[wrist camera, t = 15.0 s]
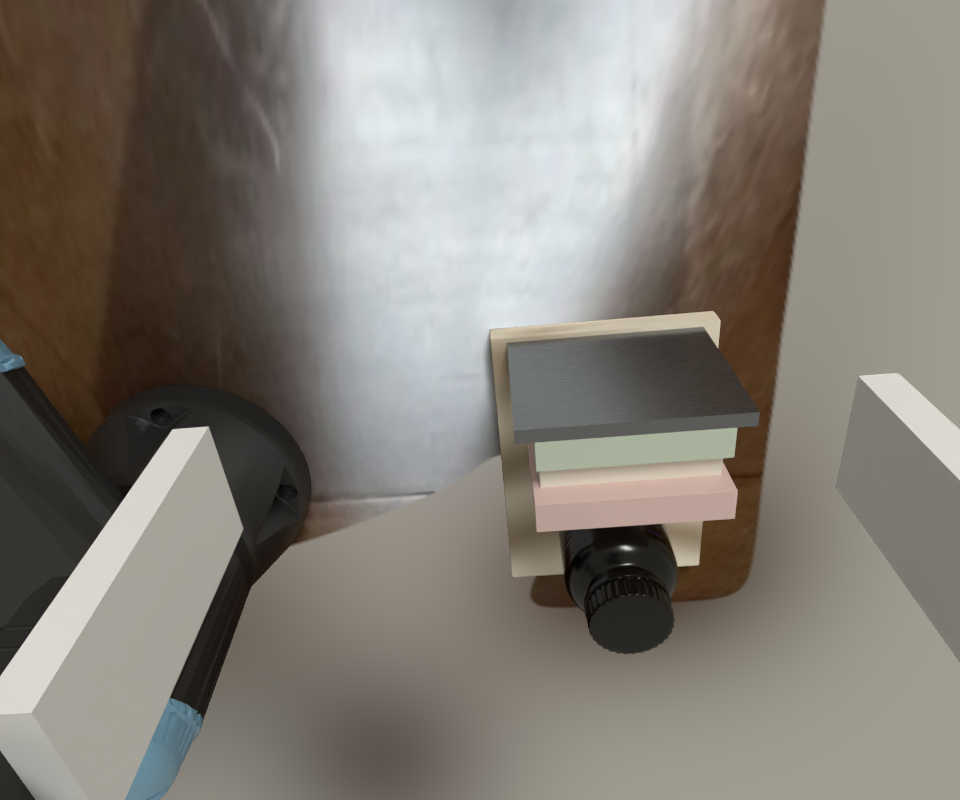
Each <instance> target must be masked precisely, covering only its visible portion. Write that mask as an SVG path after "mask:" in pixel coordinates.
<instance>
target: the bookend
mask: <svg viewBox="0 0 960 800" xmlns="http://www.w3.org/2000/svg"><path fill="white" fill-rule="evenodd" d="M507 348H508V361H509V375H510V388H511V402H512V415H513V428H514V441H515V444H524V443H537V442H551V441H564V440H577V439H591V438H604V437H617V436H631V435H644V434H658V433H671V432H684V431H698V430H711V429H724V428H738V427H751V426H758V422H759V415H760V412H759V410H758V409H757V407H756V406H755V404H754V403H753V401H752V400H751V398H750V396H749V395H748V393H747V392H746V390H745V389H744V387H743V386H742V384H741V383H740V381H739V380H738V378H737V377H736V375H735V374H734V372H733V371H732V369H731V368H730V366H729V365H728V363H727V361H726V360H725V358H724V357H723V355H722V354H721V352H720V351H719V349H718V348H717V346H716V345H715V343H714V342H713V340H712V339H711V337H710V336H709V334H708V333H707V331H706V330H705V328H704V327H693V328H681V329H669V330H657V331H644V332H632V333H620V334H608V335H595V336H583V337H571V338H559V339H546V340H534V341H522V342H510V343H507Z"/></svg>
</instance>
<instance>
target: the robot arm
mask: <svg viewBox="0 0 960 800" xmlns="http://www.w3.org/2000/svg"><path fill="white" fill-rule="evenodd" d="M24 365H26V363H25V362H24V360H23V359H22V357H21V356H20V355H16V354H13V353H12V352H11V351H10V349H9V348H8V347H7V346H6V345H5V344H4V343H3V342H2V340H1V339H0V800H160V799H161V798H162V797H163V796H164V795H165V794H166V792H167V791H168V790H169V788H170V787H171V786H172V784H173V782H174V780H175V778H176V776H177V774H178V772H179V770H180V767H181V765H182V762H183V761H184V758H185V756H186V754H187V752H188V750H189V748H190V745H191V743H192V741H193V740H195V739H196V737H197V736H198V734H199V732H200V731H201V727H202V723H203V719H204V716H205V713H206V710H207V708H208V705H209V702H210V700H211V697H212V694H213V691H214V688H215V686H216V683H217V680H218V677H219V674H220V672H221V668H222V666H223V663H224V660H225V658H226V655H227V652H228V649H229V647H230V644H231V641H232V638H233V635H234V632H235V630H236V627H237V624H238V621H239V619H240V616H241V613H242V610H243V608H244V605H245V601H246V598H247V596H248V594H249V591H250V589H251V586H252V585H253V584H254V583H255V582H256V581H257V580H258V579H259V578H260V577H261V576H262V575H263V574H264V573H265V572H266V571H267V570H268V569H269V567H270V566H271V565H272V564H273V563H274V562H275V561H276V560H277V559H278V558H279V557H280V556H281V555H282V553H284V551H285V550H286V549H287V548H288V547H289V546H290V545H291V544H292V542H293V541H294V539H295V537H296V536H297V534H298V532H299V530H300V528H301V526H302V523H303V520H304V517H305V514H306V511H307V508H308V505H309V501H310V495H311V480H310V473H309V469H308V466H307V463H306V460H305V458H304V456H303V453H302V452H301V450H300V448H299V446H298V445H297V443H296V442H295V440H294V439H293V438H292V436H291V435H290V434H289V433H288V432H287V430H286V429H285V428H284V427H283V426H282V425H281V424H280V423H279V422H278V421H276V420H275V419H274V418H273V417H272V416H270V415H269V414H268V413H267V412H265V411H264V410H262V409H261V408H259V407H257V406H256V405H254V404H252V403H250V402H248V401H247V400H245V399H242V398H240V397H238V396H236V395H233V394H230V393H227V392H224V391H221V390H217V389H213V388H208V387H203V386H194V385H170V386H162V387H157V388H152V389H149V390H146V391H143V392H140V393H138V394H136V395H134V396H131V397H130V398H128V399H126V400H125V401H123V402H122V403H121V404H119V405H118V406H117V407H116V408H115V409H114V410H113V411H112V412H111V413H110V414H109V415H108V416H107V417H106V419H105V420H104V421H103V422H102V423H101V424H100V426H99V427H98V428H97V429H96V430H95V432H94V433H93V434H92V436H91V438H90V440H89V441H88V443H87V446H86V447H85V445H84V444H83V443H82V442H81V440H80V439H79V438H78V436H77V435H76V434H75V433H74V431H73V430H72V429H71V428H70V426H69V425H68V424H67V422H66V421H65V420H64V419H63V417H62V416H61V415H60V414H59V412H58V411H57V410H56V408H55V407H54V406H53V405H52V403H51V402H50V401H49V400H48V398H47V397H46V396H45V394H44V393H43V392H42V390H41V389H40V388H39V386H38V385H37V384H36V382H35V381H34V380H33V378H32V377H31V376H30V374H29V373H28V372H27V370H26V369H25V368H24ZM836 489H837V490H838V491H839V493H840V494H841V496H842V497H843V498H844V500H845V501H846V503H847V504H848V506H849V507H850V508H851V510H852V511H853V512H854V514H855V515H856V517H857V518H858V519H859V521H860V522H861V524H862V525H863V527H864V528H865V529H866V531H867V532H868V534H869V535H870V536H871V538H872V539H873V541H874V542H875V544H876V545H877V546H878V548H879V549H880V550H881V552H882V553H883V555H884V556H885V557H886V559H887V560H888V562H889V563H890V564H891V566H892V567H893V569H894V570H895V572H896V573H897V574H898V576H899V577H900V579H901V580H902V581H903V583H904V584H905V586H906V587H907V588H908V590H909V591H910V593H911V594H912V596H913V597H914V598H915V600H916V601H917V603H918V604H919V605H920V607H921V608H922V610H923V611H924V613H925V614H926V615H927V617H928V618H929V620H930V621H931V622H932V624H933V625H934V627H935V628H936V629H937V631H938V632H939V634H940V635H941V636H942V638H943V639H944V641H945V642H946V643H947V645H948V646H949V648H950V649H951V651H952V652H953V653H954V655H955V656H956V657H957V659H958V660H959V662H960V430H959V429H958V428H957V427H956V426H955V425H954V424H953V423H952V422H951V421H950V420H948V419H947V418H946V417H945V416H944V415H943V414H942V413H941V412H940V411H939V410H938V409H937V408H935V407H934V406H933V405H932V404H931V403H930V402H929V401H928V400H927V399H926V398H925V397H924V396H923V395H921V394H920V393H919V392H918V391H917V390H916V389H915V388H914V387H913V386H912V385H910V384H909V383H908V382H907V381H906V380H905V379H904V378H903V377H902V376H901V375H900V374H899V373H891V374H879V375H866V376H858V381H857V385H856V390H855V396H854V400H853V405H852V410H851V415H850V419H849V425H848V429H847V434H846V439H845V444H844V449H843V453H842V458H841V463H840V468H839V473H838V478H837V483H836Z"/></svg>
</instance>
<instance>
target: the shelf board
mask: <svg viewBox="0 0 960 800" xmlns="http://www.w3.org/2000/svg"><path fill="white" fill-rule="evenodd" d="M720 322H721V321H720V319H719V318H718V316H717V315H716V314H715V312H714V311H707V312H695V313H683V314H671V315H659V316H647V317H635V318H623V319H610V320H598V321H586V322H574V323H562V324H550V325H538V326H526V327H514V328H501V329H490V338H491V350H492V361H493V372H494V383H495V393H496V404H497V415H498V426H499V437H500V448H501V459H502V470H503V481H504V491H505V502H506V513H507V523H508V534H509V546H510V556H511V568H512V577H525V576H541V575H556V574H564V573H563V564H562V556H561V547H560V539H559V531H548V532H537V529H536V520H535V510H534V500H533V491H532V481H531V471H530V462H529V452H528V443H524V444H515V441H514V428H513V415H512V402H511V388H510V375H509V361H508V348H507V343H510V342H522V341H534V340H546V339H559V338H571V337H583V336H595V335H608V334H620V333H632V332H644V331H657V330H669V329H681V328H693V327H704V328H705V330H706V331H707V333H708V334H709V336H710V337H711V339H712V340H713V342H714V343H715V345H716V346H717V348H718V344H719V333H720ZM702 523H703V521H693V522H678V523H665V526H666V529H667V533H668V536H669V539H670V542H671V545H672V548H673V551H674V555H675V558H676V562H677V566H692V565H699V557H700V546H701V534H702Z"/></svg>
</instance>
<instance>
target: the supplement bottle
mask: <svg viewBox="0 0 960 800" xmlns="http://www.w3.org/2000/svg"><path fill="white" fill-rule="evenodd" d="M559 539H560V547H561V556H562V564H563V573H564V580H565V585H566V589H567V592H568V594H569V596H570V597H571V599H572V600H573V602H574V603H575V604H576V605H577V606H578V607H579V608H580V609H581V610H583V611H584V612H585V616H586V618H587V623H588V628H589V632H590V635H591V636H592V637H593V640H594V641H596V642H597V644H598V645H600V646H602V647H603V648H604V649H608V650H609V651H611V652H616V653H623V654H630V653H631V654H635V653H642V652H644V651H648V650H651V649H652V648H655V647H657V646H658V645H659V644H662V643H663V642H664V640H666V639H667V638H668V636H669V635H670V634H671V632H672V629H673V627H674V621H675V619H674V613H673V609H672V606H671V596H672V594H673V593H674V590H675V588H676V585H677V581H678V566H677V562H676V558H675V555H674V551H673V548H672V545H671V542H670V539H669V536H668V533H667V529H666V526H665V523H664V524H649V525H635V526H620V527H606V528H591V529H577V530H562V531H559Z"/></svg>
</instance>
